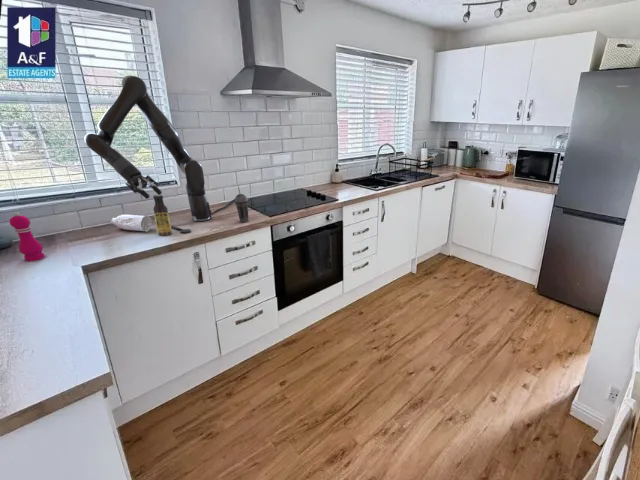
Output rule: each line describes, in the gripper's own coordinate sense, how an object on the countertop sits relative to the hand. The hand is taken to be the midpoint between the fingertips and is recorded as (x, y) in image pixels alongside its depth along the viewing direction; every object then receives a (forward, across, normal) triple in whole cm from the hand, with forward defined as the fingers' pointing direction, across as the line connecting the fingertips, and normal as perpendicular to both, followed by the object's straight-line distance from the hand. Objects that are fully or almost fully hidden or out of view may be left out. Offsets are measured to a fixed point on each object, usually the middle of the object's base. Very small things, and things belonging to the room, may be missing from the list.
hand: (154, 195), depth 179 cm
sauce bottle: (+14, 0, +14) cm, 20 cm away
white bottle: (+1, +2, +28) cm, 28 cm away
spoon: (+16, +8, +12) cm, 21 cm away
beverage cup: (+34, +31, -5) cm, 46 cm away
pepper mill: (-7, -40, +35) cm, 54 cm away
